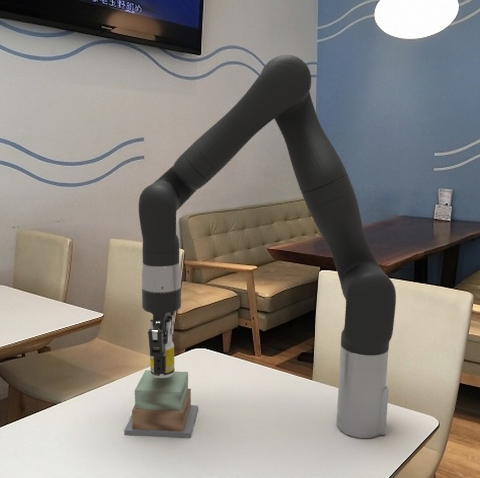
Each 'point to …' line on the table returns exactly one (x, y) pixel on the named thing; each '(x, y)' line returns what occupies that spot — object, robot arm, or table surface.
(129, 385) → the table surface
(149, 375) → the brick tower
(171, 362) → the supplement bottle
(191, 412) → the baseplate
